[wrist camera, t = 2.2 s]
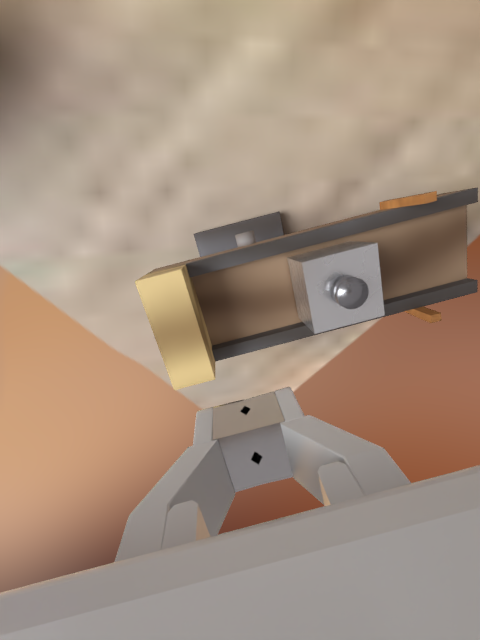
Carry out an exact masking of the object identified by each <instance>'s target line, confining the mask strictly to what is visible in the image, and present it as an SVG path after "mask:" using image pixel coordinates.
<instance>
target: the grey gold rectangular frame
mask: <svg viewBox="0 0 480 640" xmlns="http://www.w3.org/2000/svg"><path fill="white" fill-rule="evenodd" d="M475 202H478V188H472V189H467V190H461V191H455V192H449V193H443V194H439V195H437V192H436V191H435V192H429V193H424V194H419V195H413V196H408V197H403V198H397V199H392V200H387V201H383V202H380V210H378V211H374V212H370V213H367V214H363V215H359V216H355V217H351V218H348V219H344V220H340V221H336V222H332V223H329V224H325V225H321V226H317V227H313V228H309V229H306V230H302V231H298V232H294V233H290V234H287V235H284V234H283V229H282V223H281V218H280V213H279V212H276V213H272V214H268V215H264V216H260V217H257V218H253V219H249V220H245V221H241V222H238V223H234V224H230V225H226V226H222V227H218V228H215V229H211V230H207V231H203V232H199V233H196V234H194V237H195V240H196V244H197V247H198V251H199V254H200V257H199V258H195V259H191V260H188V261H184V262H180V263H176V264H172V265H169V266H165V267H161V268H157V269H154V270H153V271H151V272H150V273H148V274H146V275H145V276H143V277H141V278H140V279H138V280H136V281H135V284H136V286H137V289H138V292H139V295H140V297H141V300H142V303H143V306H144V308H145V311H146V314H147V317H148V319H149V322H150V325H151V328H152V330H153V333H154V336H155V339H156V341H157V344H158V347H159V350H160V352H161V355H162V358H163V361H164V363H165V366H166V369H167V372H168V374H169V377H170V380H171V383H172V385H173V388H174V390H177V389H181V388H184V387H188V386H192V385H196V384H199V383H203V382H207V381H211V380H215V361H219V360H222V359H226V358H230V357H234V356H238V355H241V354H245V353H249V352H253V351H256V350H260V349H264V348H268V347H272V346H275V345H279V344H283V343H287V342H290V341H294V340H298V339H302V338H306V337H309V336H313V335H317V334H321V333H324V332H328V331H332V330H336V329H340V328H343V327H347V326H351V325H355V324H358V323H362V322H366V321H370V320H374V319H377V318H381V317H385V316H389V315H392V314H396V313H399V312H406V313H408V314H411V315H413V316H415V317H418V318H420V319H422V320H425V321H427V322H430V323H433V322H437V321H441V313H440V312H437V311H434V310H431V309H428V308H426V307H423V306H426V305H430V304H434V303H438V302H441V301H445V300H449V299H453V298H457V297H460V296H464V295H468V294H471V293H475V292H477V280H474V279H468V278H467V209H466V205H468V204H472V203H475ZM348 241H357V242H373V243H378V253H379V263H380V273H381V283H382V293H383V303H384V313H385V316H381V317H377V318H373V319H370V320H366V321H362V322H358V323H355V324H351V325H347V326H343V327H339V328H336V329H332V330H328V331H324V332H321V333H317V334H314V333H313V332H312V331H311V330H310V329H309V328H308V327H307V326H306V325H305V324H304V323H303V322H302V320H301V319H300V318H299V316H298V311H297V306H296V301H295V296H294V291H293V286H292V281H291V275H290V270H289V265H288V260H287V257H291V256H295V255H299V254H302V253H306V252H310V251H314V250H318V249H321V248H325V247H329V246H333V245H337V244H340V243H344V242H348Z"/></svg>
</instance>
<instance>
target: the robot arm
mask: <svg viewBox="0 0 480 640" xmlns="http://www.w3.org/2000/svg"><path fill="white" fill-rule="evenodd" d="M290 477H294V479H295V480H296V481H297V482H299V483H300V484H301V485H302V486H303V487H304V488H305V489H307V490H308V491H309V492H310V493H311V494H312V495H313V496H315V497H316V498H317V499H318V500H319V501H320V502H322V503H323V504H324V505H325V506H324V507H321V508H317V509H313V510H310V511H305V512H302V513H298V514H295V515H290V516H287V517H283V518H279V519H276V520H272V521H268V522H264V523H261V524H257V525H253V526H250V527H246V528H242V529H238V530H234V531H231V532H227V533H223V534H220V535H217V534H218V532H219V530H220V528H221V525H222V523H223V521H224V519H225V516H226V514H227V512H228V510H229V507H230V505H231V503H232V500H233V498H234V496H235V492H238V491H241V490H245V489H248V488H251V487H255V486H258V485H261V484H265V483H269V482H274V481H278V480H282V479H286V478H290ZM0 640H480V465H478V466H475V467H471V468H468V469H464V470H460V471H456V472H453V473H449V474H445V475H442V476H438V477H434V478H430V479H426V480H422V481H419V482H415V483H411V482H410V481H409V480H408V479H407V477H406V476H405V475H404V473H403V472H402V471H401V470H400V468H399V467H398V466H397V464H396V463H395V462H394V461H393V460H392V458H391V457H390V456H389V454H388V453H387V452H386V450H385V449H384V448H382V447H380V446H378V445H375V444H373V443H371V442H369V441H366V440H364V439H362V438H360V437H357V436H355V435H353V434H351V433H348V432H346V431H344V430H342V429H339V428H337V427H335V426H333V425H330V424H328V423H326V422H324V421H321V420H319V419H317V418H315V417H312V416H310V415H308V416H304V414H303V412H302V410H301V408H300V406H299V404H298V402H297V400H296V398H295V396H294V394H293V391H292V389H291V388H290V387H286V388H283V389H280V390H276V391H273V392H270V393H266V394H263V395H259V396H256V397H252V398H249V399H246V400H240V401H236V402H232V403H228V404H223V405H219V406H215V407H211V408H207V409H203V410H200V411H198V412H197V414H196V423H195V433H194V441H193V446H190V447H188V448H187V449H186V450H185V451H184V453H183V454H182V455H181V456H180V457H179V458H178V460H177V461H176V462H175V463H174V464H173V465H172V466H171V468H170V469H169V470H168V471H167V472H166V473H165V475H164V476H163V477H162V478H161V479H160V480H159V481H158V483H157V484H156V485H155V486H154V487H153V488H152V490H151V491H150V492H149V493H148V494H147V495H146V497H145V498H144V499H143V500H142V501H141V502H140V503H139V504H138V506H137V507H136V508H135V509H134V510H133V512H132V513H131V514H130V515H129V517H128V521H127V524H126V527H125V530H124V533H123V537H122V540H121V543H120V547H119V550H118V553H117V556H116V559H115V562H114V563H111V564H107V565H103V566H99V567H96V568H92V569H88V570H84V571H81V572H77V573H73V574H69V575H65V576H62V577H58V578H54V579H51V580H47V581H43V582H39V583H36V584H32V585H28V586H24V587H21V588H16V589H13V590H9V591H5V592H1V593H0Z"/></svg>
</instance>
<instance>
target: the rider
mask: <svg viewBox="0 0 480 640" xmlns="http://www.w3.org/2000/svg"><path fill="white" fill-rule="evenodd" d="M287 260H288V265H289V270H290V275H291V281H292V286H293V291H294V296H295V301H296V306H297V311H298V316H299V318H300V319H301V320H302V322H303V323H304V324H305V325H306V326H307V327H308V328H309V329H310V330H311V331H312V332H313V333H314V334H317V333H321V332H324V331H328V330H332V329H336V328H339V327H343V326H347V325H351V324H355V323H358V322H362V321H366V320H370V319H373V318H377V317H381V316H385V313H384V303H383V293H382V283H381V273H380V263H379V253H378V243H373V242H357V241H348V242H344V243H340V244H337V245H333V246H329V247H325V248H321V249H318V250H314V251H310V252H306V253H302V254H299V255H295V256H291V257H287Z"/></svg>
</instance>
